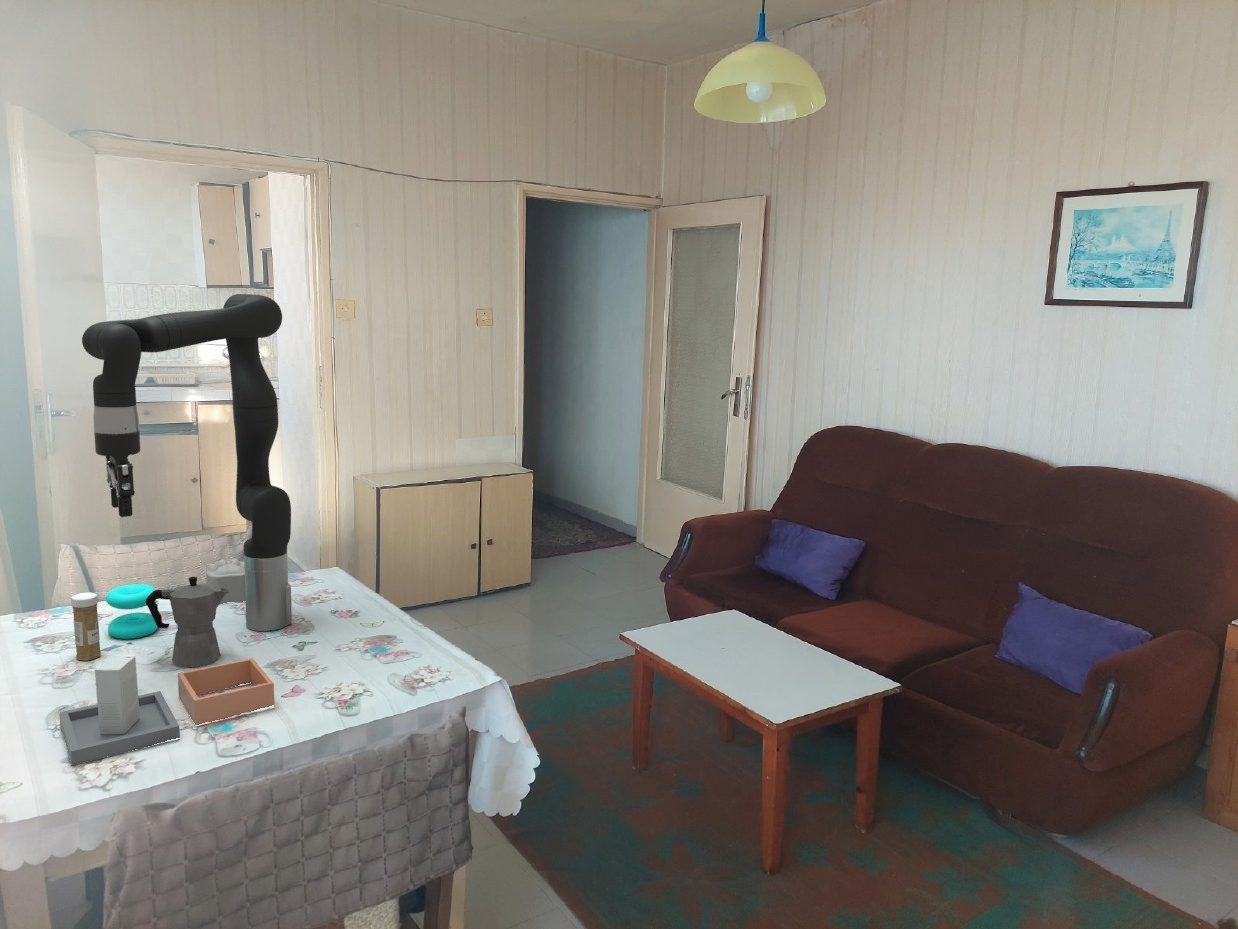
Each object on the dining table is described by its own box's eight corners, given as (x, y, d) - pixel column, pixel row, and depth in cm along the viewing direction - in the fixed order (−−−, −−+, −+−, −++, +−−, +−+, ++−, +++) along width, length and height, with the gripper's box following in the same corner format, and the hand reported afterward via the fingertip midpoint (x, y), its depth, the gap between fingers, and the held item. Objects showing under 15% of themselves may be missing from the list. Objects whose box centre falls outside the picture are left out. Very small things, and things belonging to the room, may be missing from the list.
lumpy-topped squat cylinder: (207, 605, 215) (206, 571, 213) (207, 589, 226) (205, 556, 225) (253, 601, 219) (252, 568, 218) (250, 585, 231) (249, 553, 229)
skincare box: (115, 718, 156) (111, 654, 154) (140, 718, 156) (136, 655, 154) (98, 735, 150) (93, 669, 148) (124, 735, 150) (120, 669, 148)
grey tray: (160, 703, 164) (160, 691, 164) (180, 739, 152) (179, 726, 152) (60, 725, 155) (59, 712, 154) (71, 765, 142) (70, 751, 142)
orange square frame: (253, 681, 175) (252, 657, 174) (274, 708, 165) (273, 683, 164) (178, 697, 167) (177, 673, 166) (195, 727, 156) (194, 700, 155)
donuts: (132, 579, 201) (167, 586, 198) (135, 621, 203) (169, 628, 200) (94, 593, 192) (130, 599, 188) (97, 636, 193) (132, 644, 190)
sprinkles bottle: (102, 659, 182) (97, 597, 180) (76, 663, 180) (71, 600, 177) (100, 651, 186) (96, 590, 183) (75, 655, 183) (70, 593, 181)
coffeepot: (232, 647, 191) (229, 568, 187) (229, 665, 182) (226, 582, 179) (152, 654, 185) (148, 572, 182) (145, 673, 177) (140, 587, 173)
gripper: (146, 433, 165) (150, 517, 168) (132, 422, 176) (136, 501, 179) (100, 435, 160) (105, 522, 163) (88, 424, 171) (94, 505, 174)
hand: (121, 511), depth 171 cm, fingers open, 8 cm apart
